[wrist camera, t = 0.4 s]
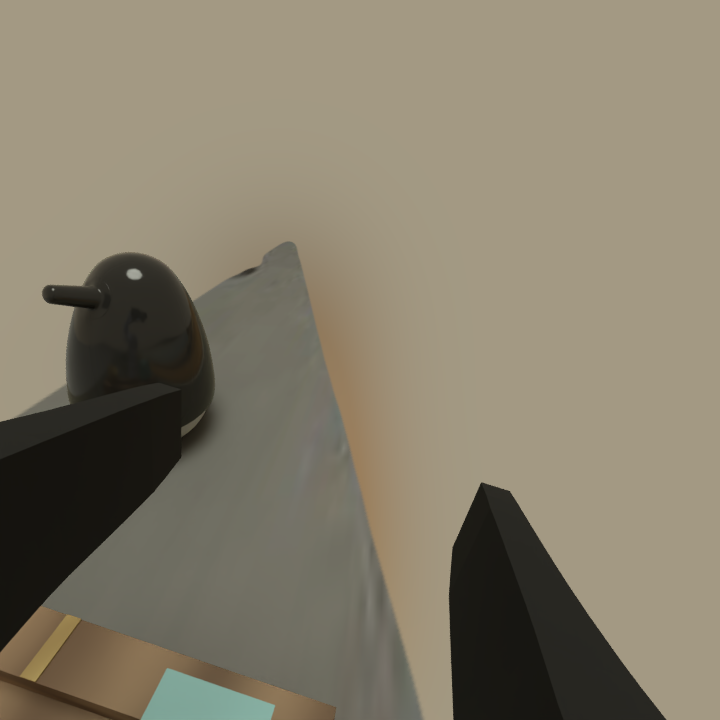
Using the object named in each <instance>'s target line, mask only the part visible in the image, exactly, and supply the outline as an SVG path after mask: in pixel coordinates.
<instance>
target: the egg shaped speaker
mask: <svg viewBox="0 0 720 720" xmlns="http://www.w3.org/2000/svg"><path fill="white" fill-rule="evenodd" d="M42 296H43V298H44V300H45V301H46V302H47V303H49V304H57V305H65V306H72V307H75V308H74V311H73V315H72V319H71V323H70V328H69V334H68V340H67V349H66V381H67V392H68V398H69V402H70V404H74V403H78V402H82V401H85V400H89V399H93V398H97V397H100V396H104V395H108V394H112V393H115V392H119V391H123V390H127V389H131V388H135V387H139V386H144V385H148V384H154V383H162V384H165V385H168V386H172V387H175V388H178V389H181V437H182V436H184V435H185V434H187V433H188V432H189V431H190V430H191V429H193V428H194V427H195V426H196V424H197V423H198V422H199V421H200V419H201V418H202V416H203V415H204V413H205V411H206V409H207V408H208V406H209V405H210V403H211V401H212V399H213V396H214V391H215V376H214V369H213V363H212V357H211V352H210V348H209V344H208V340H207V336H206V333H205V330H204V327H203V325H202V322H201V320H200V317H199V315H198V312H197V310H196V308H195V306H194V304H193V302H192V300H191V298H190V296H189V295H188V293H187V291H186V289H185V287H184V286H183V284H182V283H181V281H180V280H179V279H178V277H177V276H176V275H175V274H174V272H173V271H172V270H171V269H170V268H169V267H168V266H167V265H165V264H164V263H163V262H161V261H160V260H158V259H156V258H154V257H152V256H149V255H146V254H141V253H135V252H125V253H119V254H115V255H112V256H109V257H107V258H105V259H103V260H102V261H100V262H99V263H98V264H97V265H96V266H95V267H94V268H93V269H92V271H91V272H90V274H89V275H88V277H87V278H86V280H85V282H84V284H83V286H68V285H47V286H45V287H44V289H43V291H42Z"/></svg>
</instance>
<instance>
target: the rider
mask: <svg viewBox="0 0 720 720" xmlns="http://www.w3.org/2000/svg"><path fill="white" fill-rule="evenodd" d="M274 708H275V705H273V704H270V703H267V702H264V701H262V700H259V699H256V698H253V697H250V696H247V695H244V694H241V693H238V692H236V691H233V690H230V689H227V688H224V687H221V686H218V685H215V684H212V683H209V682H207V681H204V680H201V679H198V678H195V677H192V676H189V675H186V674H183V673H180V672H178V671H175V670H172V669H169V668H167V669H166V671H165V673H164V675H163V677H162V679H161V681H160V683H159V685H158V687H157V689H156V691H155V693H154V694H153V696H152V698H151V700H150V702H149V704H148V706H147V708H146V710H145V712H144V714H143V716H142V718H141V720H271V718H272V714H273V711H274Z"/></svg>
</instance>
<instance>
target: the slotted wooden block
mask: <svg viewBox="0 0 720 720" xmlns="http://www.w3.org/2000/svg"><path fill="white" fill-rule="evenodd" d="M167 668H169V669H172V670H175V671H178V672H180V673H183V674H186V675H189V676H192V677H195V678H198V679H201V680H204V681H207V682H209V683H212V684H215V685H218V686H221V687H224V688H227V689H230V690H233V691H236V692H238V693H241V694H244V695H247V696H250V697H253V698H256V699H259V700H262V701H264V702H267V703H270V704H273V705H275V708H274V711H273V714H272V718H271V720H334V717H335V712H336V707H333V706H331V705H328V704H325V703H322V702H319V701H316V700H313V699H310V698H307V697H304V696H301V695H299V694H296V693H293V692H290V691H287V690H284V689H281V688H278V687H275V686H272V685H269V684H267V683H264V682H261V681H258V680H255V679H252V678H249V677H246V676H243V675H240V674H237V673H234V672H232V671H229V670H226V669H223V668H220V667H217V666H214V665H211V664H208V663H205V662H202V661H200V660H197V659H194V658H191V657H188V656H185V655H182V654H179V653H176V652H173V651H170V650H168V649H165V648H162V647H159V646H156V645H153V644H150V643H147V642H144V641H141V640H138V639H136V638H133V637H130V636H127V635H124V634H121V633H118V632H115V631H112V630H109V629H106V628H104V627H101V626H98V625H95V624H92V623H89V622H86V621H83V620H81V619H80V618H77V617H74V616H71V615H68V614H67V615H66V614H63V613H60V612H57V611H54V610H51V609H48V608H45V607H42V606H40V607H39V608H38V610H37V611H36V612H35V613H34V614H33V615H32V616H31V618H30V619H29V620H28V621H27V622H26V623H25V624H24V626H23V627H22V628H21V629H20V630H19V631H18V633H17V634H16V635H15V636H14V637H13V638H12V639H11V641H10V642H9V643H8V644H7V645H6V646H5V647H4V649H3V650H2V651H1V652H0V720H141V718H142V716H143V714H144V712H145V710H146V708H147V706H148V704H149V702H150V700H151V698H152V696H153V694H154V693H155V691H156V689H157V687H158V685H159V683H160V681H161V679H162V677H163V675H164V673H165V671H166V669H167Z"/></svg>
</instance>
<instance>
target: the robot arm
mask: <svg viewBox="0 0 720 720" xmlns="http://www.w3.org/2000/svg"><path fill="white" fill-rule="evenodd" d="M180 458H181V389H178V388H175V387H172V386H168V385H165V384H162V383H154V384H148V385H144V386H139V387H135V388H131V389H127V390H123V391H119V392H115V393H112V394H108V395H104V396H100V397H97V398H93V399H89V400H85V401H82V402H78V403H74V404H70V405H67V406H63V407H59V408H55V409H52V410H48V411H44V412H40V413H35V414H31V415H27V416H23V417H19V418H15V419H10V420H6V421H2V422H0V652H1V651H2V650H3V649H4V647H5V646H6V645H7V644H8V643H9V642H10V641H11V639H12V638H13V637H14V636H15V635H16V634H17V633H18V631H19V630H20V629H21V628H22V627H23V626H24V624H25V623H26V622H27V621H28V620H29V619H30V618H31V616H32V615H33V614H34V613H35V612H36V611H37V610H38V608H39V607H40V606H41V605H42V604H43V603H44V601H45V600H46V599H47V598H48V597H49V596H50V595H51V594H52V593H53V592H54V591H55V590H56V589H57V588H58V586H59V585H60V584H61V583H62V582H63V581H64V580H65V579H66V578H67V577H68V576H69V575H70V574H71V573H72V572H73V571H74V570H75V569H76V568H77V567H78V566H79V565H80V564H81V563H82V562H83V561H84V560H85V559H86V558H87V557H88V556H89V555H90V554H91V553H92V552H94V551H95V550H96V549H97V548H98V547H99V546H100V545H101V544H102V543H103V542H104V541H105V540H106V539H107V538H108V537H109V536H110V535H111V534H112V533H113V532H114V531H115V530H116V529H117V528H118V527H119V526H120V525H121V524H122V523H123V522H124V521H125V520H126V519H127V518H128V517H129V516H130V515H131V514H132V513H133V512H134V511H135V510H136V509H137V508H138V507H139V506H140V505H141V504H142V503H143V502H144V501H145V500H146V499H147V498H148V497H149V496H150V495H151V494H152V493H153V492H154V491H155V490H156V488H157V487H158V486H159V485H160V484H161V482H162V481H163V480H164V479H165V478H166V476H167V475H168V474H169V472H170V471H171V470H172V468H173V467H174V466H175V465H176V463H177V462H178V461H179V459H180ZM449 611H450V639H451V665H452V666H451V667H452V691H453V692H452V693H453V717H454V718H453V719H454V720H666V719H665V718H664V716H663V715H662V714H661V712H660V711H659V710H658V709H657V707H656V706H655V705H654V704H653V702H652V701H651V700H650V698H649V697H648V696H647V695H646V693H645V692H644V691H643V690H642V689H641V687H640V686H639V684H638V683H637V682H636V680H635V679H634V678H633V676H632V675H631V674H630V672H629V671H628V670H627V668H626V667H625V666H624V664H623V663H622V662H621V660H620V659H619V657H618V656H617V655H616V653H615V652H614V651H613V649H612V648H611V646H610V645H609V643H608V642H607V641H606V639H605V638H604V636H603V635H602V633H601V632H600V631H599V629H598V628H597V627H596V625H595V624H594V622H593V621H592V619H591V618H590V617H589V615H588V614H587V612H586V611H585V609H584V608H583V606H582V605H581V603H580V602H579V600H578V599H577V597H576V596H575V595H574V593H573V591H572V590H571V588H570V587H569V585H568V584H567V582H566V581H565V579H564V578H563V576H562V574H561V573H560V572H559V570H558V568H557V567H556V565H555V564H554V562H553V560H552V559H551V557H550V556H549V554H548V553H547V551H546V549H545V548H544V546H543V544H542V543H541V541H540V540H539V538H538V536H537V535H536V533H535V531H534V530H533V528H532V527H531V525H530V523H529V522H528V520H527V518H526V517H525V515H524V513H523V512H522V510H521V508H520V507H519V505H518V503H517V502H516V500H515V499H514V497H513V496H512V494H511V493H510V491H507V490H504V489H501V488H498V487H494V486H491V485H488V484H485V483H481V484H480V487H479V489H478V491H477V493H476V496H475V498H474V500H473V502H472V505H471V507H470V510H469V512H468V514H467V516H466V518H465V521H464V523H463V525H462V527H461V530H460V532H459V534H458V536H457V539H456V541H455V543H454V546H453V550H452V562H451V575H450V588H449Z"/></svg>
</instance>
